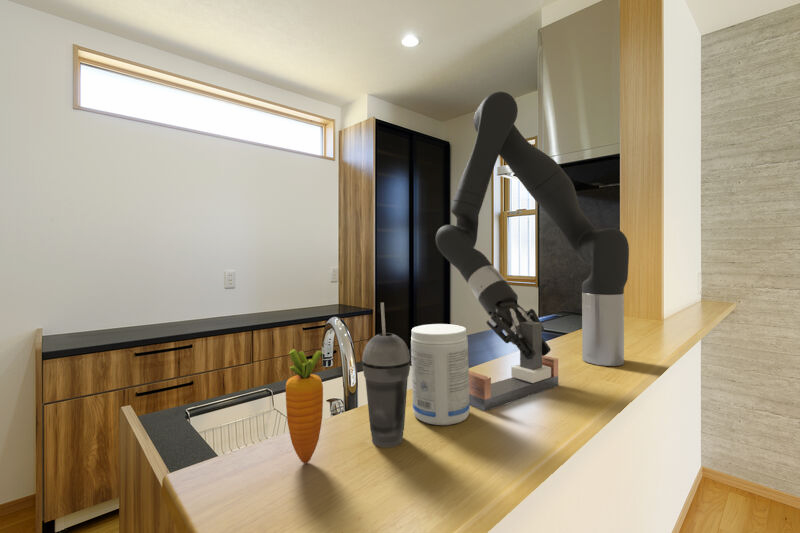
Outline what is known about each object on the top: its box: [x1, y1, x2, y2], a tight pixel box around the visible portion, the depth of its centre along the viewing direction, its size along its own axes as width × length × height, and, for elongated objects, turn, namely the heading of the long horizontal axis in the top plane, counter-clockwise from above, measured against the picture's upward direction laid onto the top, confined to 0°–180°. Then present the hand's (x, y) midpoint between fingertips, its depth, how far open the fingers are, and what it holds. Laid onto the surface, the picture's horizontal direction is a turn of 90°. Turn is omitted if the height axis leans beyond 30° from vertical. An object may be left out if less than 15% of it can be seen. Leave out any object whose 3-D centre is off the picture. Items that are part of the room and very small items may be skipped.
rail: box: [469, 355, 559, 412], centre depth 72 cm, size 22×5×6 cm, turn 125°
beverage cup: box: [360, 302, 412, 449], centre depth 54 cm, size 7×7×20 cm
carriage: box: [510, 321, 551, 383], centre depth 76 cm, size 6×5×11 cm
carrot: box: [285, 348, 324, 464], centre depth 48 cm, size 5×5×15 cm
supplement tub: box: [410, 323, 471, 426], centre depth 63 cm, size 10×10×15 cm
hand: (539, 354), depth 74 cm, fingers open, 4 cm apart
